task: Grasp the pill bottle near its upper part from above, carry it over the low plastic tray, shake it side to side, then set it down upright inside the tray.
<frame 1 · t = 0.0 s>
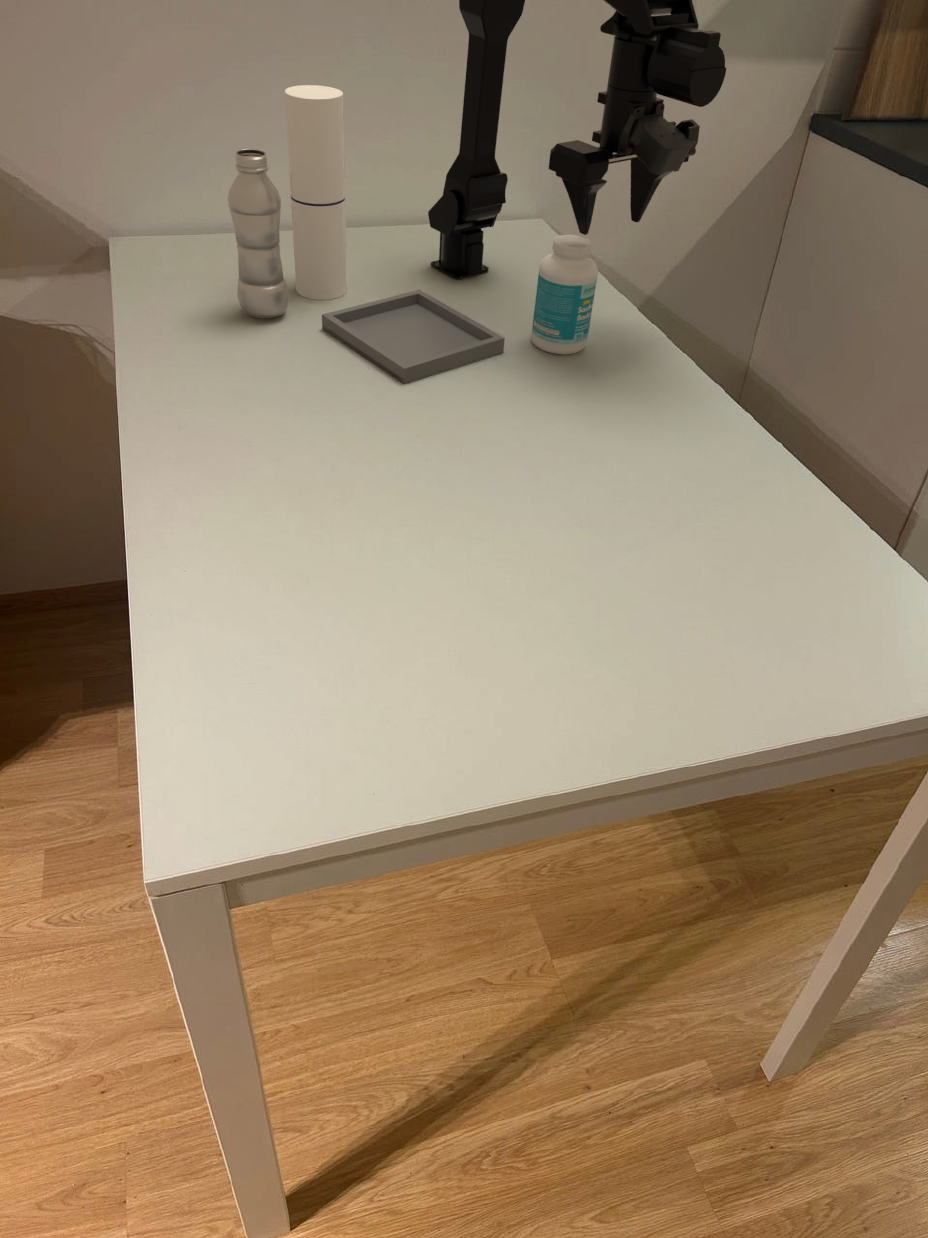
hand: (609, 227, 116), 15 cm above the table, tool pointing down, fingers open, 9 cm apart
cylindrical container: (321, 290, 132), on the table
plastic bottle: (264, 315, 125), on the table
pill bottle: (558, 345, 124), on the table
tray: (412, 340, 122), on the table
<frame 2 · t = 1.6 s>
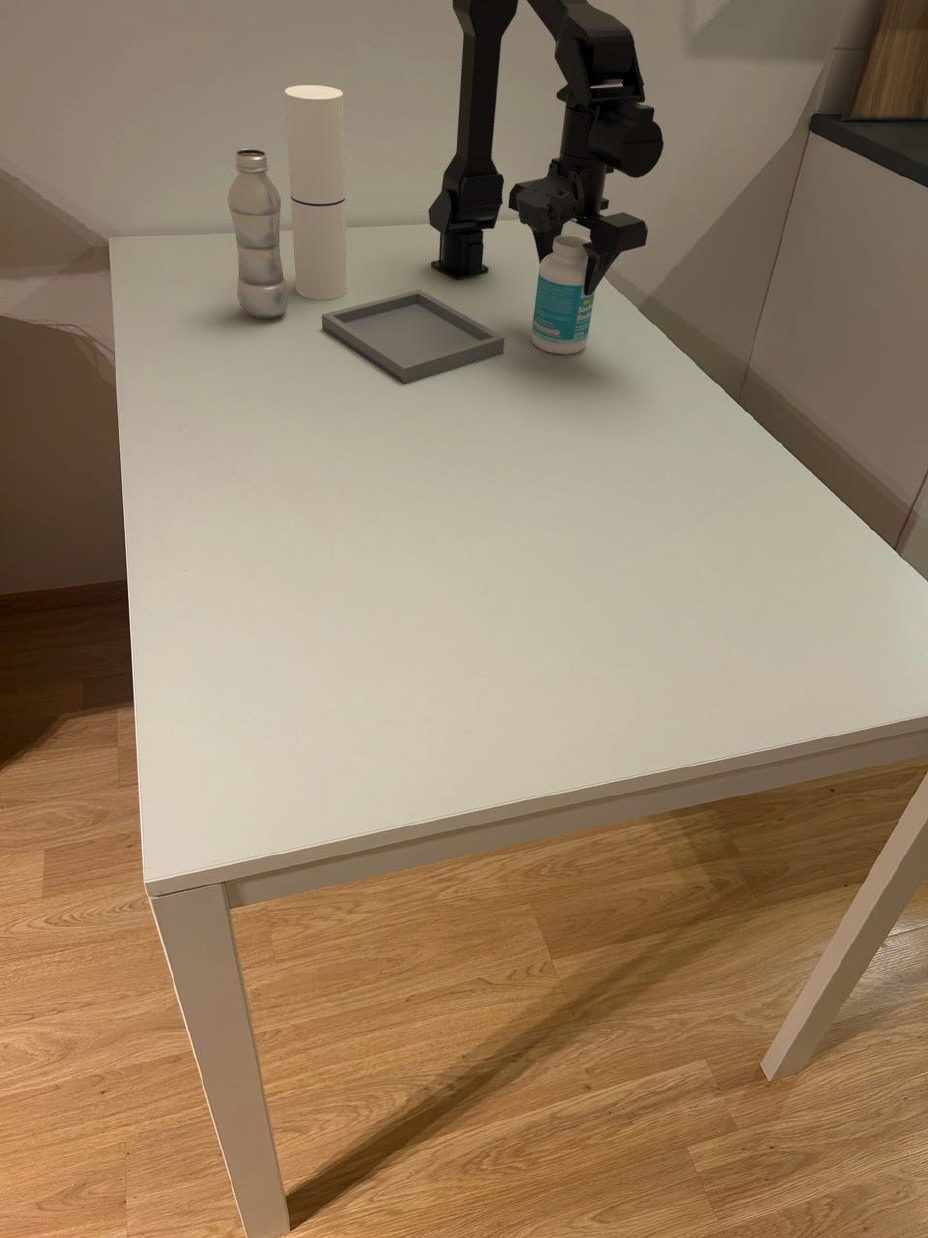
hand: (566, 284, 118), 8 cm above the table, tool pointing down, fingers closed on pill bottle, 7 cm apart
pill bottle: (558, 345, 124), on the table, touching gripper
everything else where it was.
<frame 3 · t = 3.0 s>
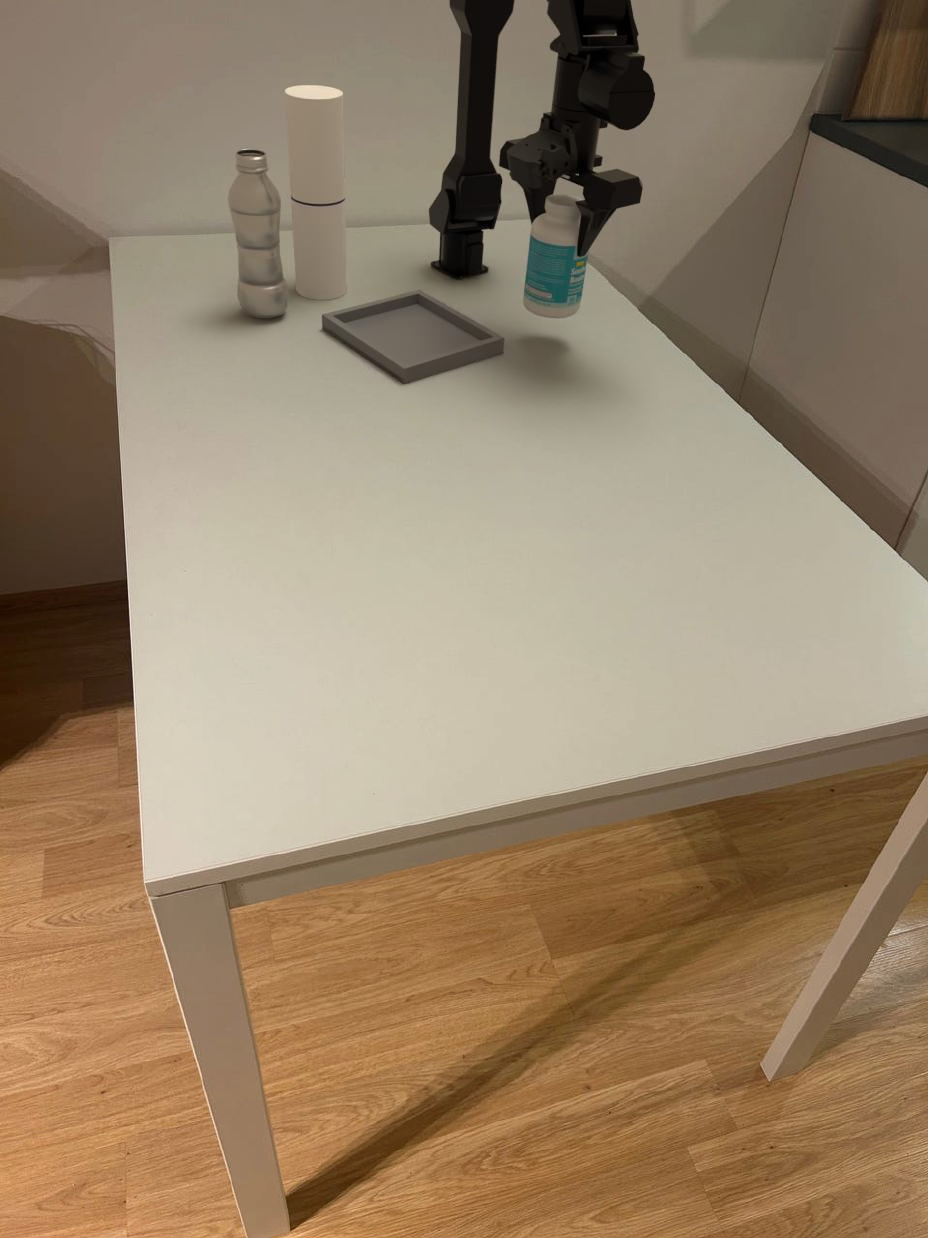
hand: (558, 245, 115), 13 cm above the table, tool pointing down, fingers closed on pill bottle, 7 cm apart
pill bottle: (550, 310, 121), point 5 cm above the table, touching gripper
everything else where it was.
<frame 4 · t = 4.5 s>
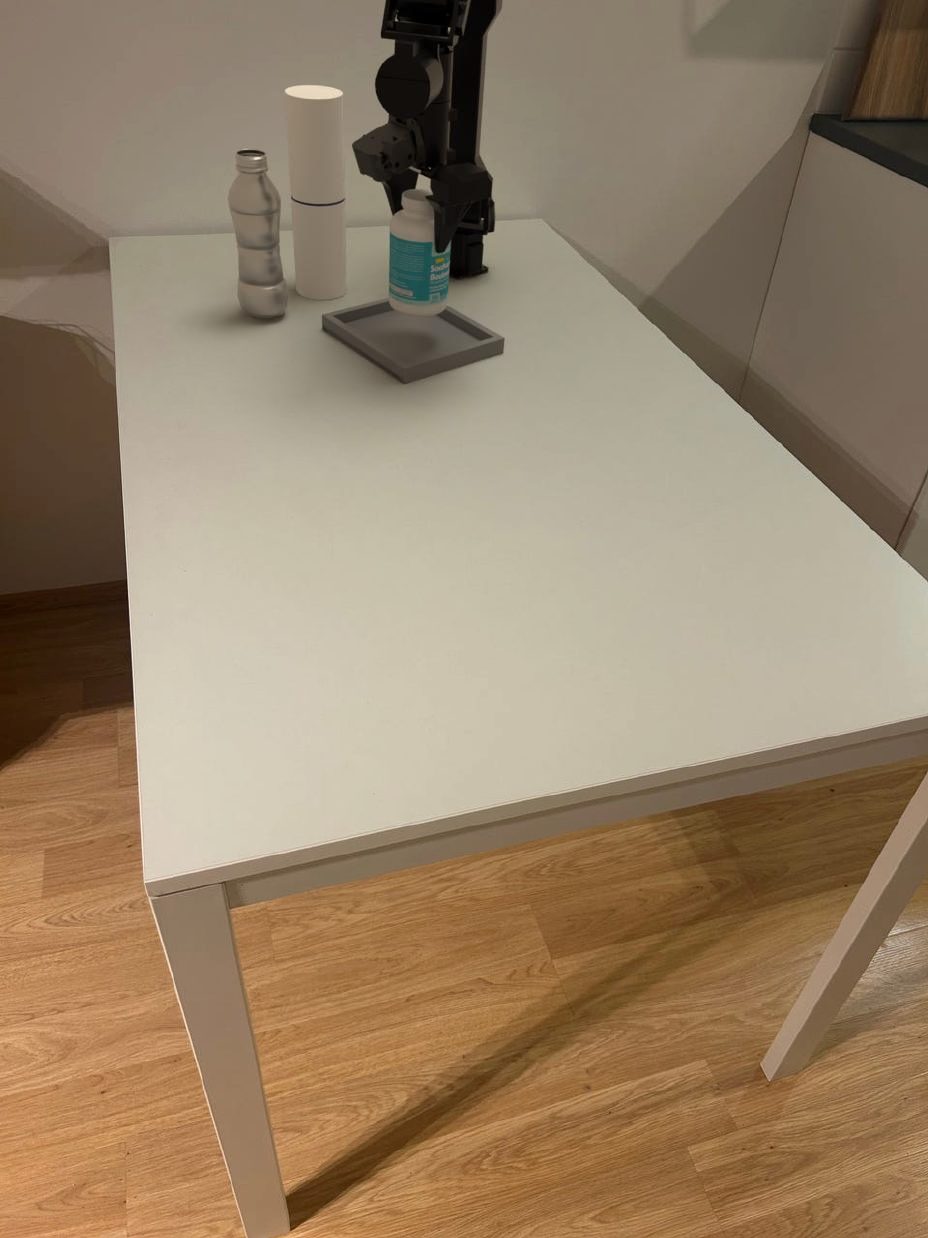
hand: (420, 242, 112), 13 cm above the table, tool pointing down, fingers closed on pill bottle, 7 cm apart
pill bottle: (418, 308, 118), point 5 cm above the table, touching gripper
everything else where it was.
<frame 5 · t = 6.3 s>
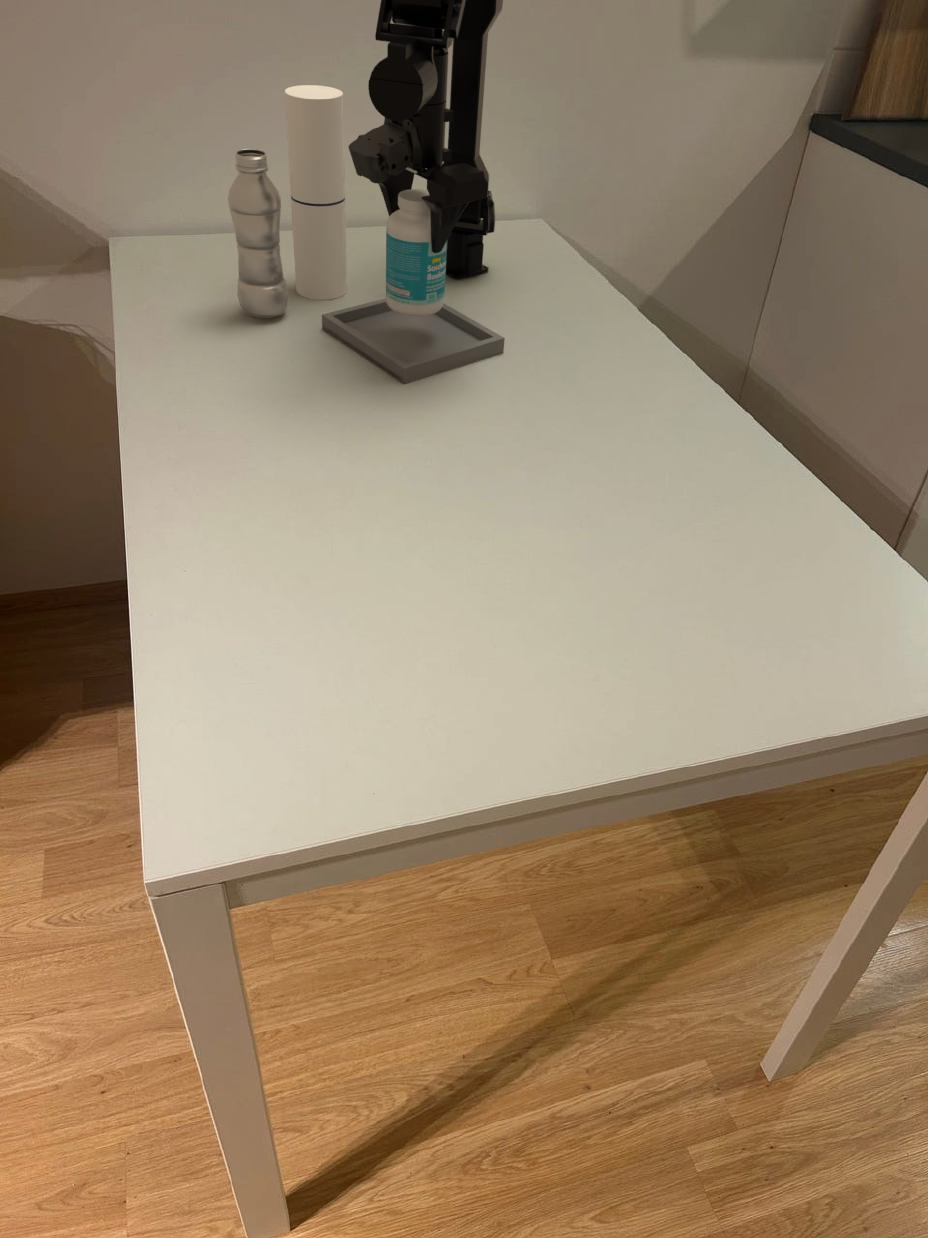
hand: (416, 241, 113), 13 cm above the table, tool pointing down, fingers closed on pill bottle, 7 cm apart
pill bottle: (414, 307, 119), point 5 cm above the table, touching gripper
everything else where it was.
when the fingers open (10 cm above the table, at t = 7.9 s): pill bottle drops 1 cm, resting on tray.
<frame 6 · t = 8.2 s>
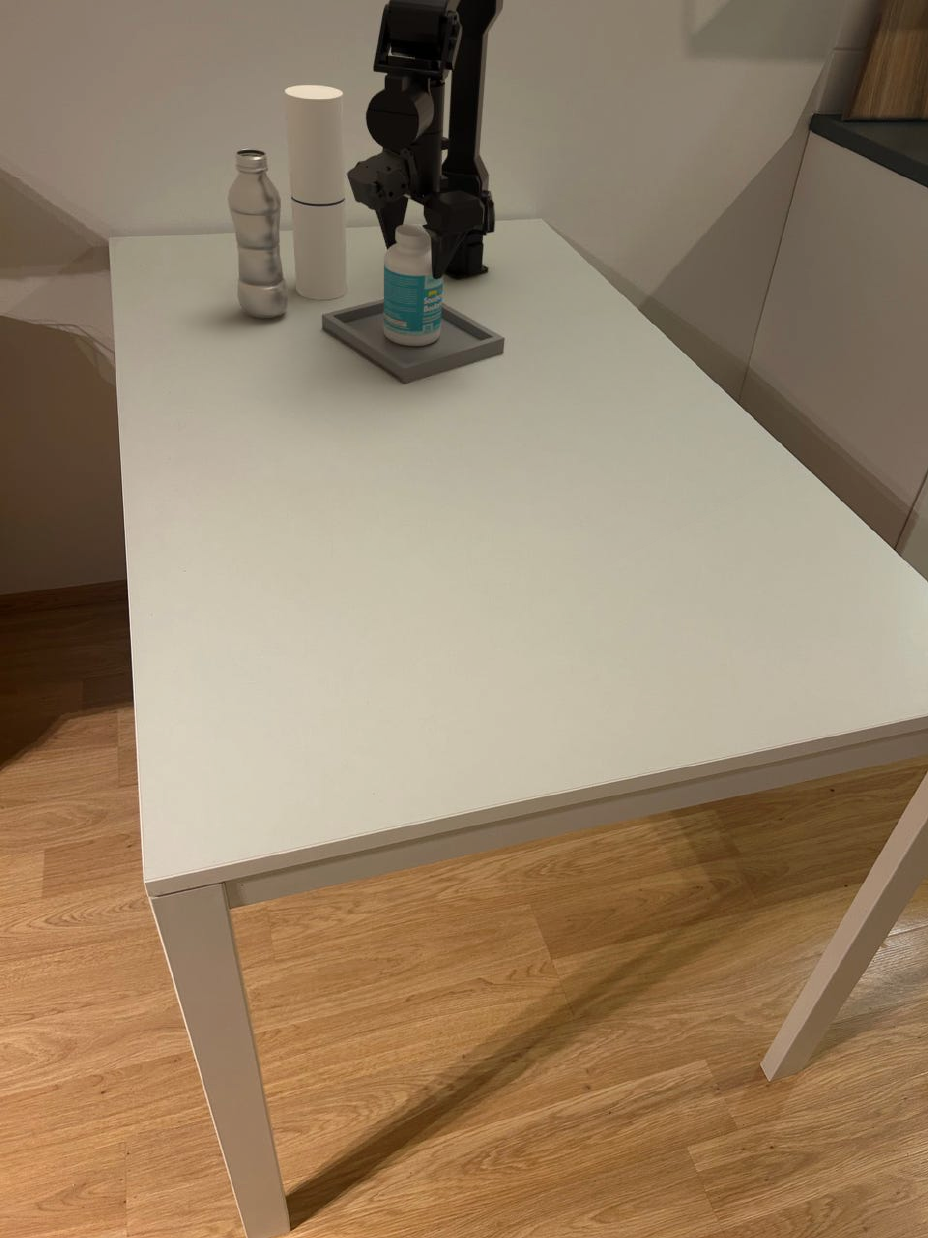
hand: (414, 265, 115), 10 cm above the table, tool pointing down, fingers open, 9 cm apart
pill bottle: (411, 337, 121), resting on tray
everything else where it was.
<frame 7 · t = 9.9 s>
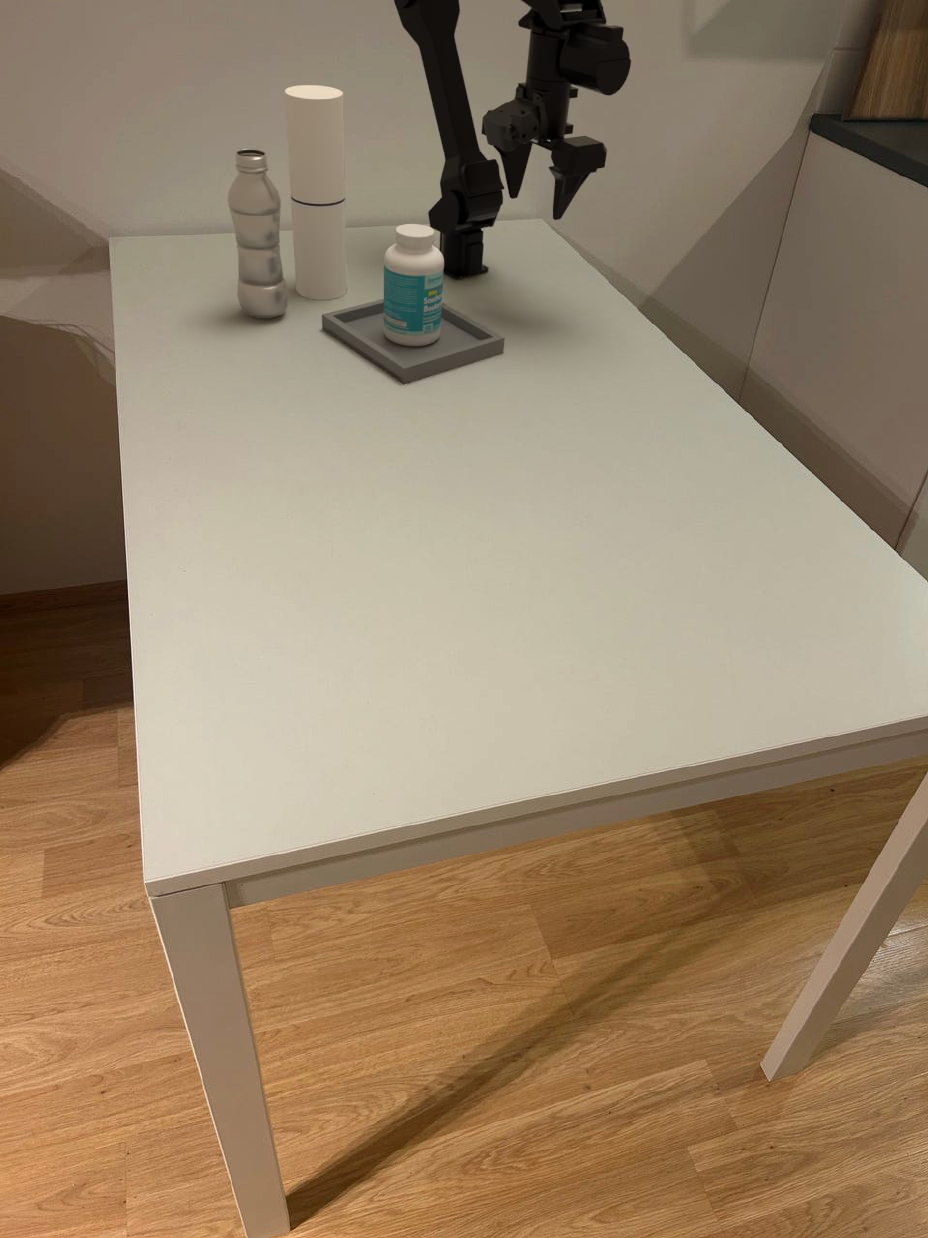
hand: (534, 208, 125), 13 cm above the table, tool pointing down, fingers open, 9 cm apart
nothing on the table moved.
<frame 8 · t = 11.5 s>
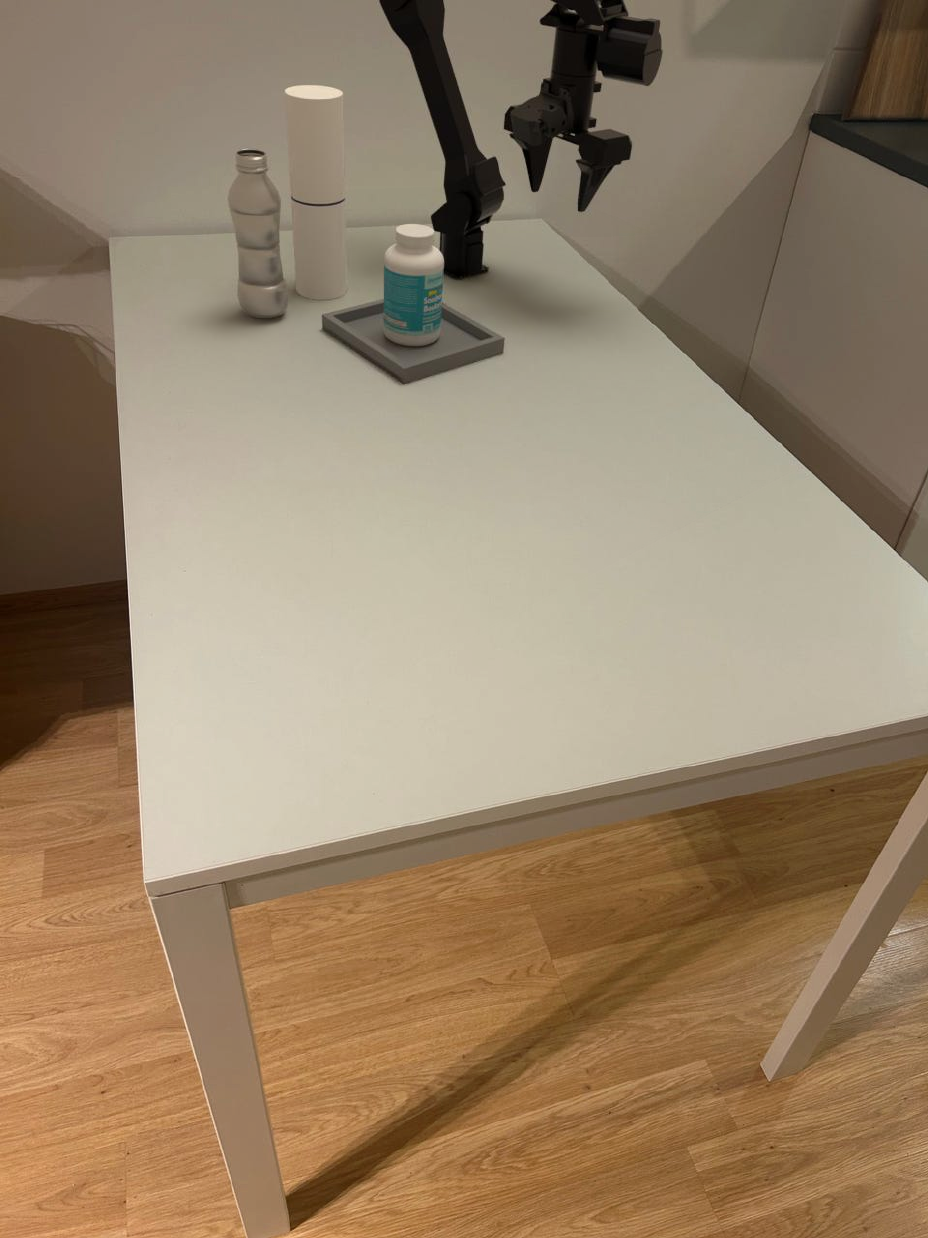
hand: (557, 201, 127), 13 cm above the table, tool pointing down, fingers open, 9 cm apart
nothing on the table moved.
at the end: pill bottle inside the target area on the tray (0.1 cm from its centre), point 0.4 cm above the tray's base; pill bottle tilted 0°; the gripper is holding nothing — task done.
